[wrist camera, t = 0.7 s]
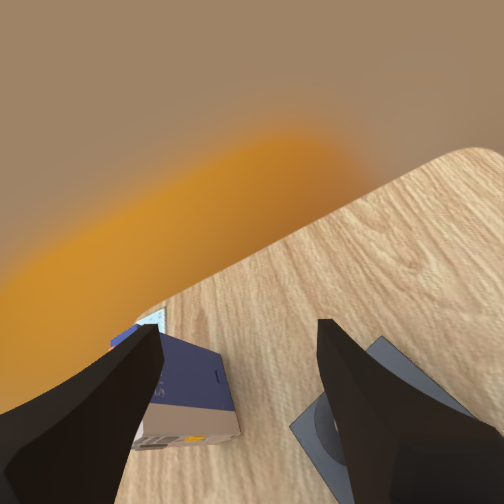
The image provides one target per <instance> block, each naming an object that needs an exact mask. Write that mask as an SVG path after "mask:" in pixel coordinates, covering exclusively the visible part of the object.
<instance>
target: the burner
mask: <svg viewBox="0 0 504 504" xmlns="http://www.w3.org/2000/svg"><path fill="white" fill-rule="evenodd" d="M314 420H315V428H316V432H317V435H318V438H319V440H320V442H321V444H322V446H323V448H324V449H325V450H326V452H327V453H328V454H329V455H330V456H331V457H332V458H333V459H334V460H335V461H337V462H338V463H340V464H341V465H343V466H345V467H347V466H346V462H345V457H344V453H343V449H342V444H341V440H340V436H339V433H338V429H337V426H336V423H335V420H334V417H333V414H332V411H331V408H330V405H329V402H328V399H327V396H326V393H325V391H324V392H323V393H322V395H321V396H320V398H319V400H318V402H317V405H316V408H315V416H314Z"/></svg>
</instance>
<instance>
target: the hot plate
mask: <svg viewBox="0 0 504 504" xmlns="http://www.w3.org/2000/svg"><path fill="white" fill-rule="evenodd" d="M366 352H367V353H368V354H369V355H370V356H371V357H373V358H374V359H375V360H376V361H377V362H379V363H380V364H381V365H383V366H384V367H385V368H387V369H388V370H389V371H391V372H392V373H394V374H395V375H396V376H398V377H399V378H401V379H402V380H404V381H405V382H407V383H408V384H410V385H412V386H413V387H415V388H417V389H418V390H420V391H422V392H423V393H425V394H427V395H428V396H430V397H432V398H434V399H436V400H437V401H439V402H441V403H443V404H445V405H447V406H449V407H451V408H453V409H455V410H457V411H459V412H461V413H463V414H466V415H468V416H470V417H472V418H474V419H477V418H476V417H475V416H473V415H472V414H471V413H470V412H469V411H468V410H467V409H465V408H464V407H463V406H462V405H461V404H460V403H459V402H457V401H456V400H455V399H454V398H453V397H452V396H451V395H449V394H448V393H447V392H446V391H445V390H444V389H443V388H442V387H440V386H439V385H438V384H437V383H436V382H435V381H434V380H432V379H431V378H430V377H429V376H428V375H427V374H426V373H424V372H423V371H422V370H421V369H420V368H419V367H418V366H416V365H415V364H414V363H413V362H412V361H411V360H410V359H408V358H407V357H406V356H405V355H404V354H403V353H402V352H400V351H399V350H398V349H397V348H396V347H395V346H394V345H392V344H391V343H390V342H389V341H388V340H387V339H386V338H384V337H383V336H380V337H379V338H378V339H377V340H376V341H375V342H374V343H373V344H372V345H371V346H370V347H369V348H368V349H367V350H366ZM321 395H322V394H321ZM321 395H320V396H321ZM320 396H319V397H318V398H317V399H316V400H315V401H314V402H313V403H312V404H311V405H310V406H309V407H308V408H307V409H306V410H305V411H304V412H303V413H302V414H301V415H300V416H299V417H298V418H297V419H296V420H295V421H294V422H293V423H292V424H291V425H290V426H289V427H290V429H291V431H292V432H293V434H294V435H295V437H296V438H297V440H298V441H299V443H300V444H301V446H302V447H303V449H304V451H305V452H306V454H307V455H308V457H309V458H310V460H311V461H312V463H313V464H314V466H315V467H316V469H317V471H318V472H319V474H320V475H321V477H322V478H323V480H324V481H325V483H326V484H327V486H328V487H329V489H330V491H331V492H332V494H333V495H334V497H335V498H336V500H337V501H338V503H339V504H355V503H354V499H353V494H352V489H351V485H350V480H349V475H348V471H347V467H345V466H343V465H341V464H340V463H338V462H337V461H335V460H334V459H333V458H332V457H331V456H330V455H329V454H328V453H327V452H326V450H325V449H324V448H323V446H322V444H321V442H320V440H319V438H318V435H317V432H316V428H315V420H314V416H315V408H316V405H317V402H318V400H319V398H320ZM477 420H478V419H477ZM503 430H504V429H503Z"/></svg>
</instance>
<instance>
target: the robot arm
mask: <svg viewBox="0 0 504 504" xmlns="http://www.w3.org/2000/svg"><path fill="white" fill-rule="evenodd" d="M164 361H165V359H164V354H163V349H162V344H161V339H160V333H159V328H158V324H144V325H143V326H141V327H140V328H138V329H137V330H136V331H134V332H133V333H132V334H131V335H129V336H128V337H127V338H126V339H124V340H123V341H122V342H121V343H119V344H118V345H117V346H115V347H114V348H113V349H112V350H110V351H109V352H108V353H106V354H105V355H103V356H102V357H101V358H99V359H98V360H97V361H95V362H94V363H92V364H91V365H90V366H88V367H87V368H85V369H84V370H83V371H81V372H79V373H78V374H76V375H75V376H73V377H71V378H70V379H68V380H67V381H65V382H63V383H62V384H60V385H58V386H56V387H55V388H53V389H51V390H49V391H47V392H45V393H43V394H42V395H40V396H38V397H36V398H34V399H33V400H31V401H28V402H27V403H24V404H22V405H20V406H18V407H16V408H14V409H12V410H10V411H8V412H5V413H4V414H1V415H0V504H114V502H115V498H116V495H117V492H118V488H119V485H120V482H121V478H122V475H123V472H124V468H125V465H126V462H127V459H128V456H129V453H130V450H131V447H132V444H133V441H134V438H135V436H136V433H137V431H138V428H139V426H140V424H141V422H142V419H143V417H144V415H145V412H146V410H147V408H148V405H149V403H150V401H151V399H152V396H153V394H154V392H155V389H156V387H157V384H158V382H159V379H160V375H161V372H162V368H163V365H164ZM317 362H318V367H319V372H320V377H321V380H322V383H323V386H324V390H325V393H326V396H327V399H328V402H329V405H330V408H331V411H332V414H333V417H334V420H335V423H336V426H337V429H338V433H339V436H340V440H341V444H342V449H343V453H344V457H345V462H346V466H347V471H348V475H349V480H350V485H351V489H352V494H353V499H354V503H355V504H504V437H503V436H502V435H501V434H500V433H499V432H498V431H497V430H496V428H495V427H492V426H490V425H488V424H486V423H483V422H481V421H479V420H477V419H474V418H472V417H470V416H468V415H466V414H463V413H461V412H459V411H457V410H455V409H453V408H451V407H449V406H447V405H445V404H443V403H441V402H439V401H437V400H436V399H434V398H432V397H430V396H428V395H427V394H425V393H423V392H422V391H420V390H418V389H417V388H415V387H413V386H412V385H410V384H408V383H407V382H405V381H404V380H402V379H401V378H399V377H398V376H396V375H395V374H394V373H392V372H391V371H389V370H388V369H387V368H385V367H384V366H383V365H381V364H380V363H379V362H377V361H376V360H375V359H374V358H373V357H371V356H370V355H369V354H368V353H367V352H366V351H364V350H363V349H362V348H361V347H360V346H359V345H358V344H357V343H356V342H355V341H354V340H353V339H352V338H351V337H350V336H349V335H348V334H347V333H346V332H345V331H344V330H343V329H342V328H341V327H340V326H339V325H338V324H337V323H336V322H335V321H334V320H333V319H318V332H317Z"/></svg>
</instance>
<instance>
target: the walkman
mask: <svg viewBox="0 0 504 504" xmlns="http://www.w3.org/2000/svg"><path fill="white" fill-rule="evenodd" d="M140 327H141V325H139V324H135V325H134V326H132V327H131V328H129V329H128V330H126V331H124V332H123V333H121V334H120V335H118V336H117V337H115V338H114V339H112V340H111V348H110V349H109V350H108V352H109V351H110V350H112V349H113V348H114V347H115V346H117V345H118V344H119V343H121V342H122V341H123V340H124V339H126V338H127V337H128V336H129V335H131V334H132V333H133V332H134V331H136V330H137V329H138V328H140ZM159 333H160V339H161V344H162V349H163V354H164V359H165V361H164V365H163V368H162V372H161V375H160V379H159V382H158V384H157V387H156V389H155V392H154V394H153V396H152V399H151V401H150V403H149V405H148V408H147V410H146V412H145V415H144V417H143V419H142V422H141V424H140V426H139V428H138V431H137V433H136V436H135V438H134V441H133V444H132V447H131V449H135V451H140V450H155V449H164V448H165V447H180V446H197V445H213V444H218V443H220V442H222V441H229V440H231V439H233V438H235V437H237V436H239V435H241V432H240V428H239V424H238V420H237V416H236V413H235V409H234V406H233V402H232V398H231V394H230V390H229V387H228V383H227V379H226V375H225V371H224V368H223V364H222V360H221V356H220V354H218V353H215V352H212V351H210V350H207V349H204V348H201V347H199V346H196V345H193V344H191V343H188V342H185V341H182V340H180V339H177V338H174V337H171V336H169V335H166V334H163V333H161V332H159Z"/></svg>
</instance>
